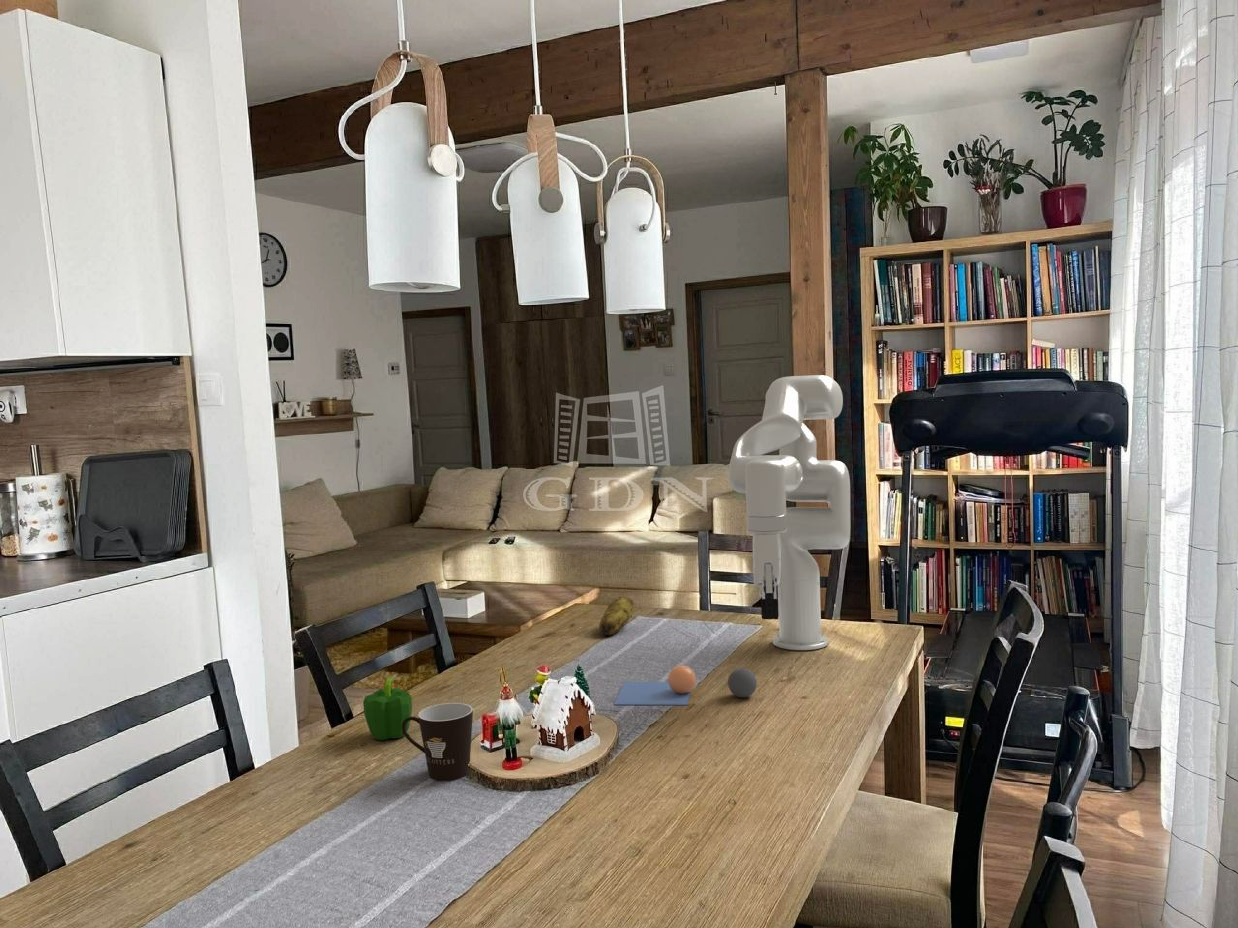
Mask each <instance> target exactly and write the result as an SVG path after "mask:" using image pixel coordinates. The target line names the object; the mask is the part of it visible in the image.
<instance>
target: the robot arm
mask: <svg viewBox="0 0 1238 928" xmlns="http://www.w3.org/2000/svg"><path fill="white" fill-rule="evenodd" d="M843 397H844V396H843V392H842V389H841V386H840V385H839V384H838V382H837V381H835V380H834V378H832V377H830V376H828V375H823V374H814V375H792V376H783V377H780V378H777V379H776V380H774V381H772V383H771V384H770V386H769V387H768V389H767V391H766V393H765V404H764V409H763V413H762V418H761V421H758V422H757V423H756V424H754V425H753V426H751V427H750V428H749V429H748V430H747V431H745V432H743V434H742V435H741V436H740V437H738V439H737V441H736V442H735V443H734V447H733V450H732V454H731V458H730V461H729V465H728V466H729V467H728V482H729V484H730V486H731V488H732V489H733V490H734V491H735V492H737V493H740V494H745V501H746V503H745V504H746V505H745V506H746V509H745V510H746V530H747V531H746V533H748V534H752V565H753V568H752V569H753V584H754V585H755V586H756V587H757V586H758V584H759V585H760V584H761V597H760V607H761V608H760V609H761V610H760V611H761V619H762V620H778V629H779V630H778V631H779V634H777V635H775V636H773V638H772V645H774V646H776V647H778V648H779V649H780V648H781V649H783V650H790V651H812V650H819V649H823V648H824V647H827V646H828V645H829V637H828V636H826V635H824V634H822V619H821V618H822V617H821V616H822V615H821V614H822V613H821V612H822V611H821V585H820V584H821V583H820V582H821V580H820V579H821V577H820V568H819V565H818V562H817V561H816V559H815V557H813V556H812V554H811V553H810V552H809V551H808V550H842V549H844V548H846V547H847V546H848V545H849V543H850V539H851V478H850V473H849V472H850V471H849V470H848V466H846V464H845V463H843V462H842V461H840V460H836V459H831V460H830V459H827V460H824V459H819V460H818V459H817V456H818V455H817V452H818V451H817V445H818V442H817V438H816V436H815V435H814V434H813V433H812V431H811V430H810V429H809V428H808V426H807V425H805V423H803V422H804V421H806V420H807V421H808V420H809V421H812V420H813V421H814V420H815V421H816V420H833V419H837V418H838V417H839V416H840V414H841V413H842V410H843V406H844V398H843ZM776 451H779V454H778V455H777V454H775V455H774V454H772V455H769V454H768V453H771V452H776ZM765 454H766V455H765ZM767 454H768V455H767ZM787 501H789V502H797V503H799V502H800V503H802V502H803V503H818V502H819V503H827V504H828V505H829V507H827V506H824V507H823V506H822V507H820V506H819V507H818V506H816V507H815V506H791V507H787Z"/></svg>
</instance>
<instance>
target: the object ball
mask: <svg viewBox="0 0 1238 928" xmlns="http://www.w3.org/2000/svg"><path fill="white" fill-rule="evenodd" d="M667 682H668V684H669V686H670V688H671V689H672V690H673V691H674V692H676V693H678V694H686V693H688V692H690V693H691V691H692V690H693V689H694V688H695V686H696V682H697V677H696V674H695V671H694V670H693V669H692V668H690V666H687V665H682V664H681V665H676V666H674V667H672V669H671V670H670V671H669V673H668V676H667Z"/></svg>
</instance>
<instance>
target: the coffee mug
mask: <svg viewBox="0 0 1238 928" xmlns="http://www.w3.org/2000/svg"><path fill="white" fill-rule="evenodd" d="M417 716H418V717H416V716H411V717H408V718H407V719H405V720H404V721H403V723H402V732H403V734H404V737H405V738H406V740H408V741H409V742H410V744H412V745H413V746H414V747H415V748H417V749H418V750H419V751H421V752H422V753H424V756H425V760H426V761H425V762H426V766H427V767H426V768H427V771H428V777H429V778H430V780H431V779H432V780H433V781H437V782H448V781H456V780H459V779H461V778H464V777H466V776H467V775H468V774H467V770H468V764H469V762H470V763H471V748H472V747H471V746H472V736H473V734H472V733H473V732H472V731H473V716H474V708H473V707H472V706H471V705H469V704H466V703H463V702H462V703H461V702H460V703H459V702H447V703H439V704H434V705H431V706H428V707H425V708H423V709H421V710H420V711H419V712H418V714H417ZM408 721H410V722H411V721H413V722H416V723H418V725H419V728H420V734H421V738H422V740H421V741H422V745H423V746H422V745H421V744H419V743H418V742H417V741H415V739H413V738H412V737H411V736H410V735H409V734H408V731H407V732H406V728H405V727H406V723H407V722H408Z"/></svg>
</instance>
